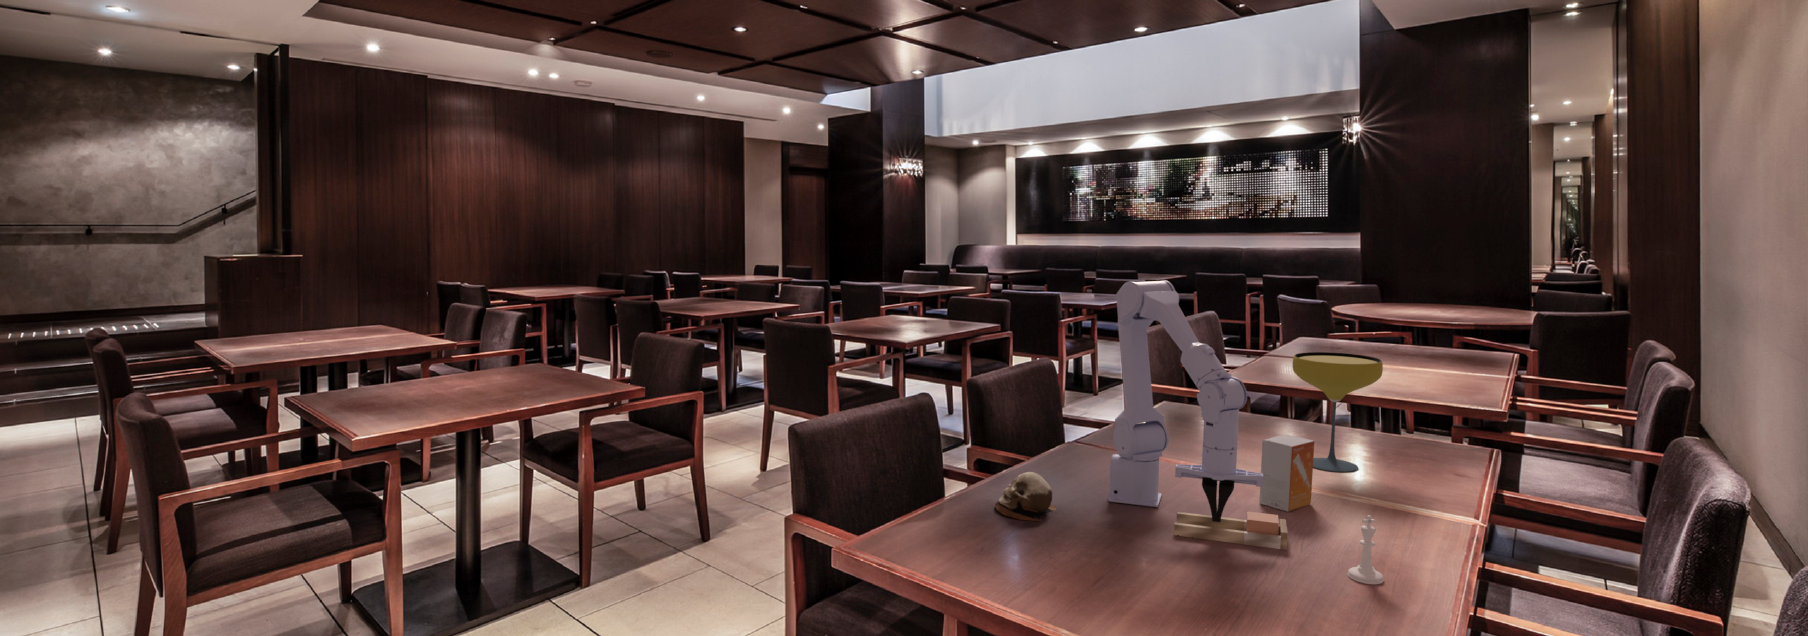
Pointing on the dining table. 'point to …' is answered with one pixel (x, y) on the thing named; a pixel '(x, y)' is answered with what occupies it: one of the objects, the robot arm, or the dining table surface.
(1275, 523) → the block
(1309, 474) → the small box
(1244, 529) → the chute
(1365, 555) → the chess piece
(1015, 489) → the skull
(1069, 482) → the dining table surface
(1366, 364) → the cocktail glass
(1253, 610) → the dining table surface
